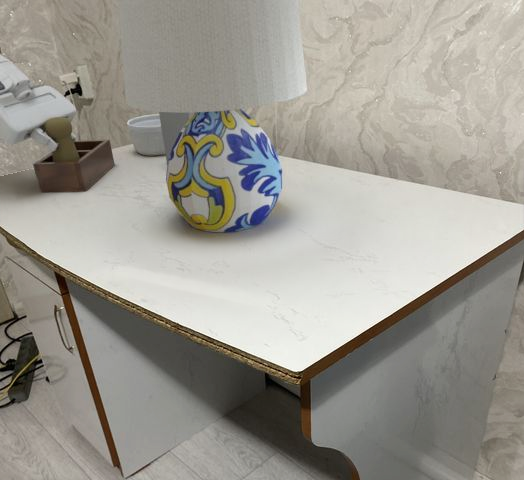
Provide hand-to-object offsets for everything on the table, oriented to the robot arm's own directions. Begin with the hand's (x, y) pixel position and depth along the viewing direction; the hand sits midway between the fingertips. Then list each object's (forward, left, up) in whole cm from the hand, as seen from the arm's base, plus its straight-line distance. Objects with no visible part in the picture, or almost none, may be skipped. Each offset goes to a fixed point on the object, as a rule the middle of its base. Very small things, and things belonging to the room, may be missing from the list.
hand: (65, 144), depth 107 cm
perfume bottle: (+21, +12, -8) cm, 26 cm away
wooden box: (-1, +4, -8) cm, 9 cm away
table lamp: (+35, -20, -8) cm, 41 cm away
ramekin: (+11, +25, -8) cm, 29 cm away
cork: (-1, 0, -6) cm, 6 cm away
